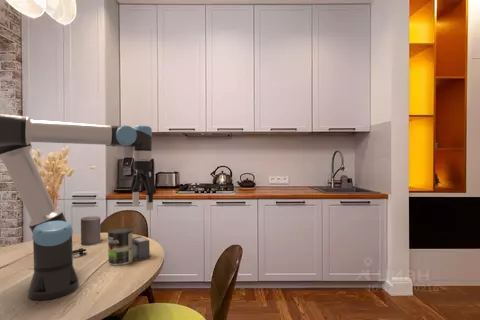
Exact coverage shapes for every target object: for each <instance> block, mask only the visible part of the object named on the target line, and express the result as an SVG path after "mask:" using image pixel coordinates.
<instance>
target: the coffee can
mask: <svg viewBox="0 0 480 320" xmlns="http://www.w3.org/2000/svg"><path fill="white" fill-rule="evenodd" d="M132 235H133V228H132V227H116V228H112V229H108V231H107V251H108V252H107V253H108V254H107V255H108V259H107V260H108V262H107V263H108V265H110V266H123V265H128V264H130V263H132V262H133V259H134V257H133V255H132Z"/></svg>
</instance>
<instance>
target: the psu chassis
mask: <svg viewBox="0 0 480 320" xmlns="http://www.w3.org/2000/svg"><path fill="white" fill-rule="evenodd" d="M132 255H133V259H136V260H138V261H142V260H146V259H150V257H151V256H150V255H151V254H150V240H149V239H147V238H145V237H143V236H140V235H138V234H136V233H135V234H132Z"/></svg>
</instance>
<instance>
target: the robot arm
mask: <svg viewBox="0 0 480 320" xmlns="http://www.w3.org/2000/svg"><path fill="white" fill-rule="evenodd" d="M133 127H134V128H133ZM133 127H132V126H130V125H124V124H123V125H111V124H110V125H109V124H98V123H97V124H94V123H80V122H67V121H53V120H52V121H51V120H38V119H37V120H36V119H32V118H30V117H29V116H24V115H15V114H10V113H5V112H4V113H3V112H0V160H1V161H2V163H3V165H4V166H5V169H6V171H7V173H8V175H9V177H10V178H11V181H12V183H13V185H14V187H15V189H16V191H17V192H18V195H19V197H20V199H21V201H22V203H23V205H24V208H25V209H26V211H27V213H28V216H29V218H30V221H29V223H28V228H29V230H30V231H31V233H32V235H31V237H32V240H33V241H32V246H33V275H32V277H31V280H30V282H29V283H30V284H29V286H28V290H27V291H28V292H27V295H28V298H29V299H31V300H34V301H46V300H53V299H57V298H61V297H64V296H66V295H69V294H71V293H73V292H74V291H76V290H78V288H79V287H80V284H79V283H80V280H79V277H78V275H77V271H76V269H75V268H74V264H73V263H74V262H73V259H74V258H73V255H74V253H72V251H73V227H72V224H71V223H70V222H68V221H67V220H66V217H65V214H64V213H63V211H62V210H59V209H57V208H56V206H55V204H54V202H53V200H52V198H51V196H50V193H49V191H48V189H47V187H46V185H45V183H44V181H43V178H42V176H41V174H40V172H39V170H38V167H37V166H36V163H35V161H34V159H33V157H32V155H31V153H30V152H31V149H32V144H31V143H50V144H73V145H74V144H81V145H101V146H102V145H103V146H104V145H105V146H106V147H113V148H114V147H117V148H119V147H123V148H124V147H125V148H127V147H128V148H129V147H130V148H133V159H134V161H133V169H134V171H132V172H133V175H132V179H131V184H130V187H129V190H130V191H131V192H132V207H139V206H140V187H141V185H142V183H143V185H144V188H145V191H146V194H145V196H146V198H145V199H146V202H145V203H146V205H145V209H146V211H152V210H154V195H155V194H157V190H156V185H155V180H154V178H153V176H154V175H153V171H149V170H152V161H151V160H152V159H153V158H152V157H153V156H152V155H153V152H152V149H153V148H152V147H153V144H152V143H153V135H152V134H153V132H152V131H153V130H152V126H149V125H135V126H133Z"/></svg>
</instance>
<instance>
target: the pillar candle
mask: <svg viewBox="0 0 480 320" xmlns="http://www.w3.org/2000/svg"><path fill="white" fill-rule="evenodd" d="M100 243H101V217H100V216H98V215H96V216H95V215H89V216H85V217H81V218H80V244H81V245H82V246H93V245H97V244H100Z"/></svg>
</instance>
